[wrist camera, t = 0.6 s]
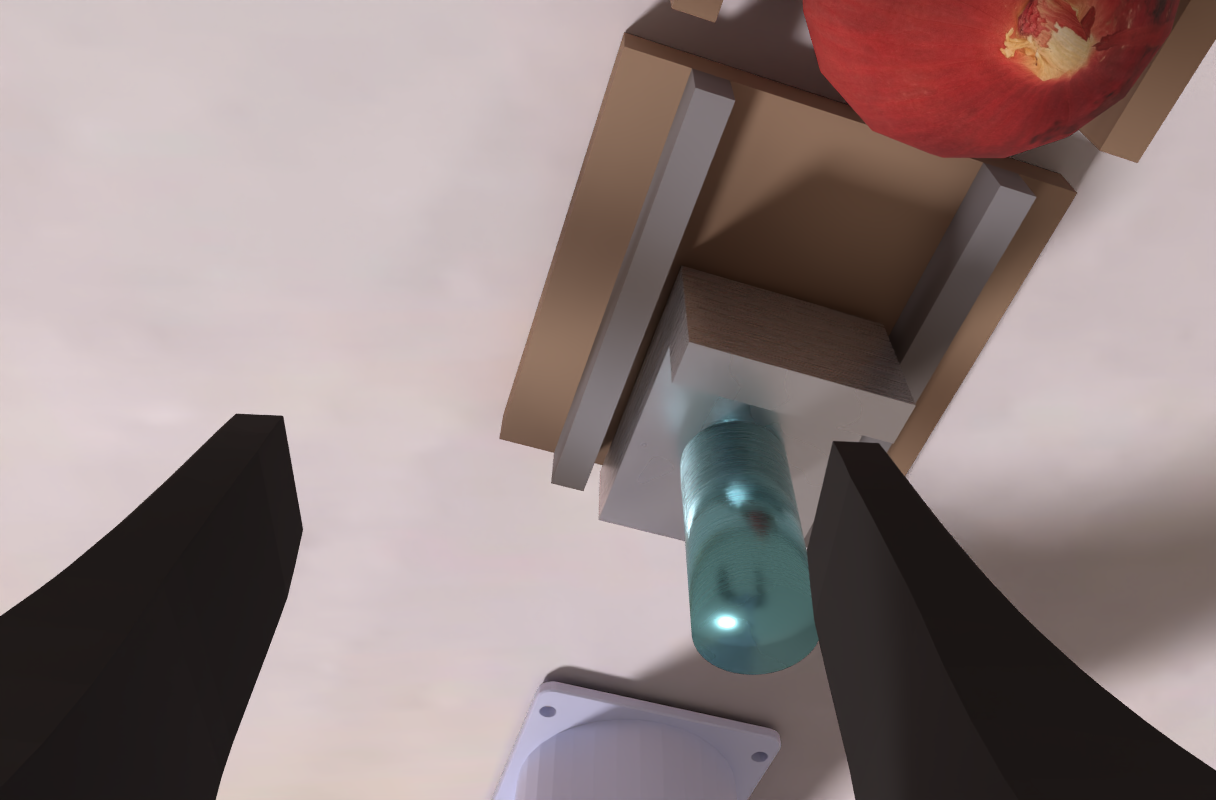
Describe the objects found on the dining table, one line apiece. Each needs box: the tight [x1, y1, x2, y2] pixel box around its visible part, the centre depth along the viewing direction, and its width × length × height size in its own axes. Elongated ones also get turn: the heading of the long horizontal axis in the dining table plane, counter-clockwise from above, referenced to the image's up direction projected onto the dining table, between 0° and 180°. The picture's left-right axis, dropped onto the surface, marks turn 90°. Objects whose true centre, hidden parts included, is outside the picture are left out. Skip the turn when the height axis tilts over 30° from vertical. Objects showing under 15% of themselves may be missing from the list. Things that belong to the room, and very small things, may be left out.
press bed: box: [500, 0, 1216, 547], centre depth 20 cm, size 18×10×5 cm, turn 163°
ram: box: [599, 266, 916, 675], centre depth 22 cm, size 6×5×7 cm
